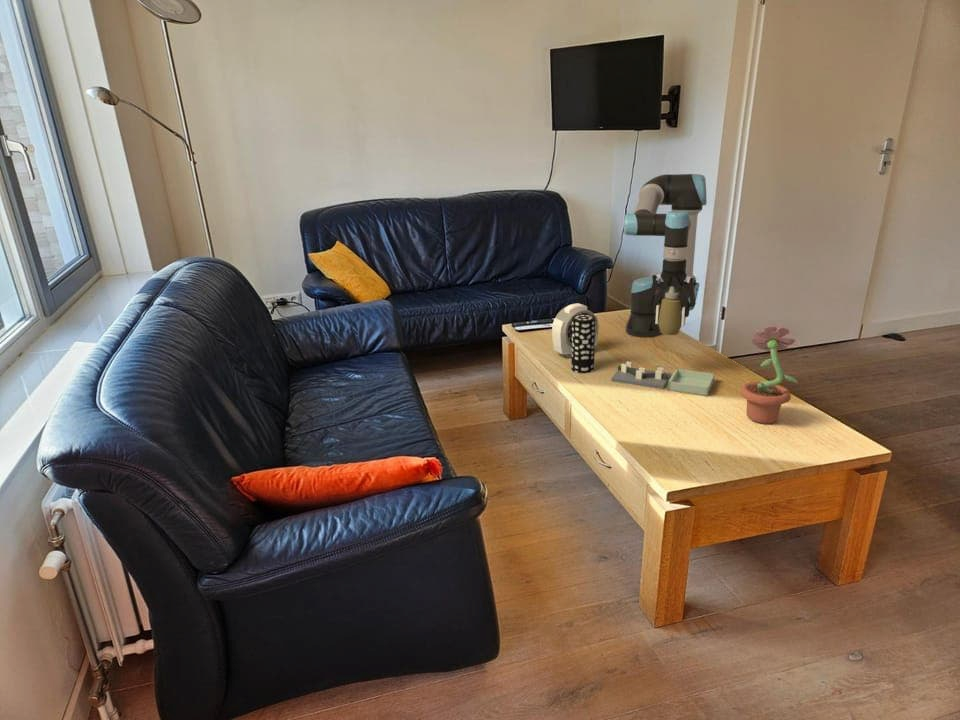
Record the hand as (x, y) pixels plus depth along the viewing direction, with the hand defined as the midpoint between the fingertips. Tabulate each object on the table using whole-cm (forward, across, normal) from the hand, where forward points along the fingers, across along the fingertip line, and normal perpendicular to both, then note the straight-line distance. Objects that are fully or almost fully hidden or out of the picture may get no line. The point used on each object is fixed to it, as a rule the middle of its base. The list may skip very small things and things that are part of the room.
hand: (670, 324), depth 216 cm
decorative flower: (+20, +34, -21) cm, 45 cm away
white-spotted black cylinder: (+19, -29, -6) cm, 36 cm away
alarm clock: (+19, -38, +8) cm, 43 cm away
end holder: (+19, +10, -6) cm, 22 cm away
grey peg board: (+19, -7, -6) cm, 22 cm away
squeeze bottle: (+3, 0, 0) cm, 3 cm away
